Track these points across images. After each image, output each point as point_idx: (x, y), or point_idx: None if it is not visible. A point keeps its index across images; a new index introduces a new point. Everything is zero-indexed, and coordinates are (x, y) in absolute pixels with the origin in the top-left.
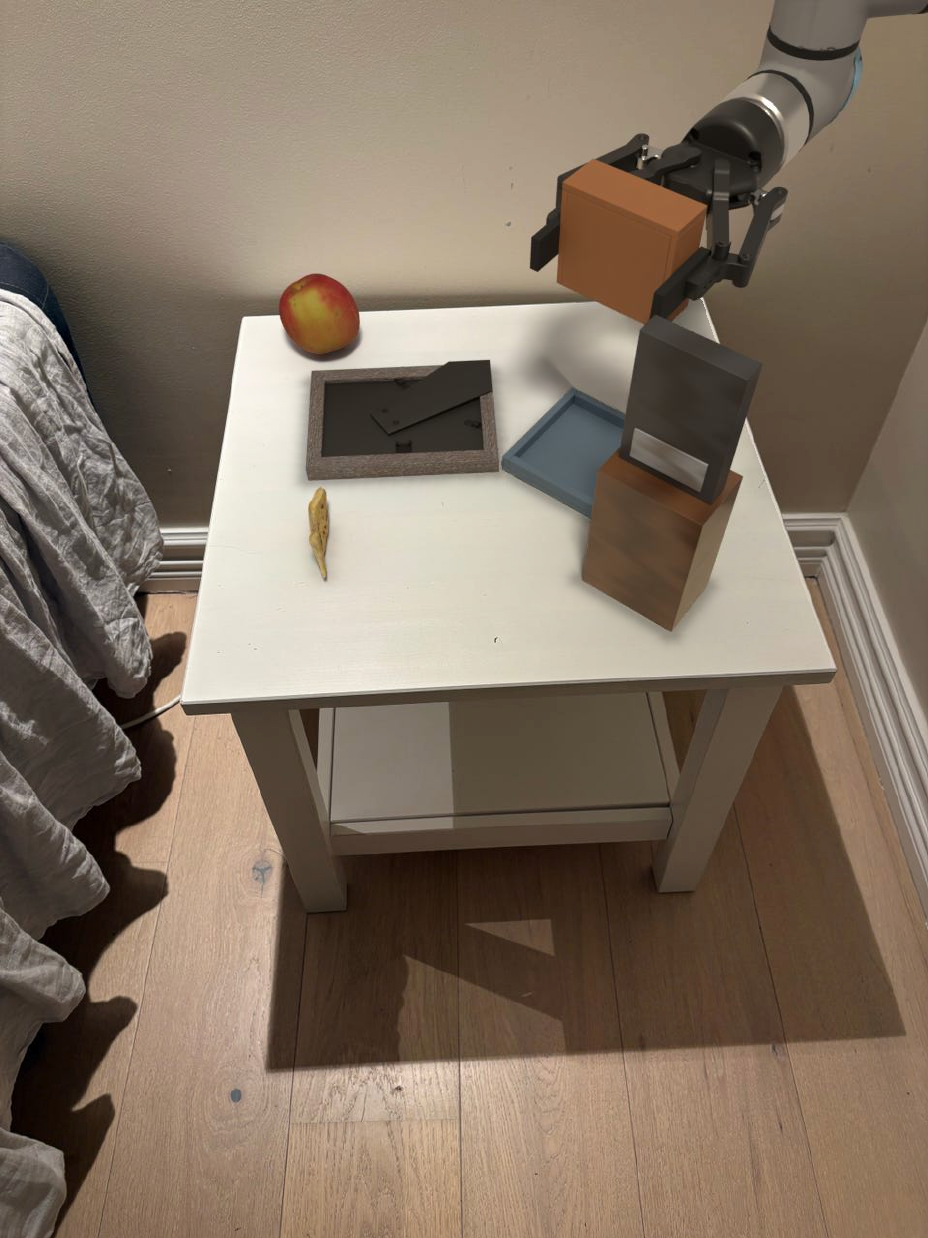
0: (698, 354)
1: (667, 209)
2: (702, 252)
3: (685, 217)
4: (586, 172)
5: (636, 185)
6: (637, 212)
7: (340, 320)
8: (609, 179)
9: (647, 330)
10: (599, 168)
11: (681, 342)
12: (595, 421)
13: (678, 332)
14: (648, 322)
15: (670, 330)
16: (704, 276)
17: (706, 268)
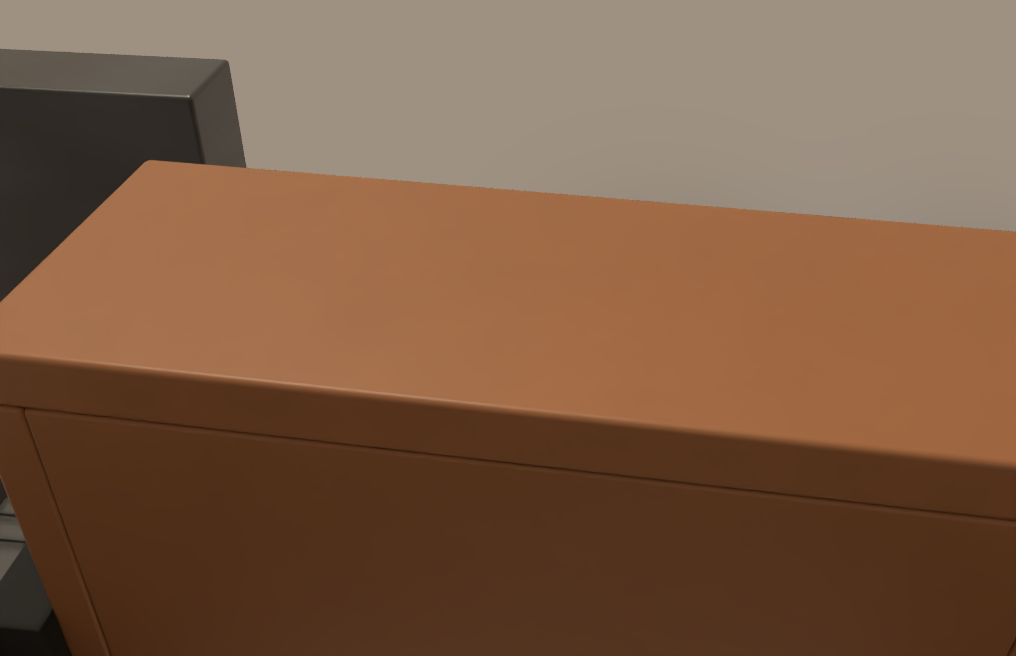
0: (17, 53)
1: (257, 247)
2: (26, 585)
3: (118, 230)
4: (1009, 336)
5: (578, 345)
6: (432, 189)
7: None
8: (801, 331)
9: (201, 60)
10: (980, 396)
11: (78, 60)
12: None
13: (93, 78)
14: (206, 77)
15: (122, 75)
16: (15, 518)
17: (3, 575)
